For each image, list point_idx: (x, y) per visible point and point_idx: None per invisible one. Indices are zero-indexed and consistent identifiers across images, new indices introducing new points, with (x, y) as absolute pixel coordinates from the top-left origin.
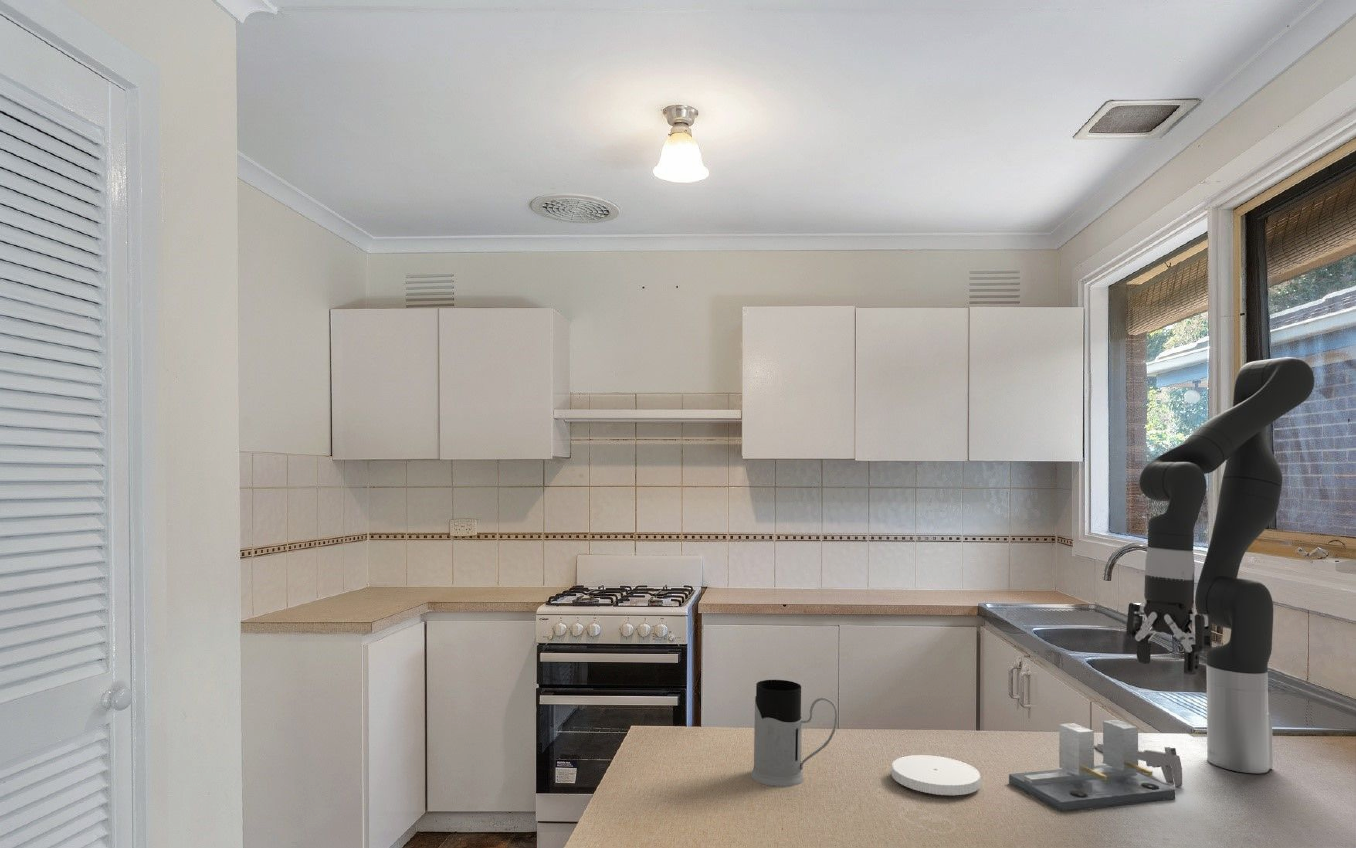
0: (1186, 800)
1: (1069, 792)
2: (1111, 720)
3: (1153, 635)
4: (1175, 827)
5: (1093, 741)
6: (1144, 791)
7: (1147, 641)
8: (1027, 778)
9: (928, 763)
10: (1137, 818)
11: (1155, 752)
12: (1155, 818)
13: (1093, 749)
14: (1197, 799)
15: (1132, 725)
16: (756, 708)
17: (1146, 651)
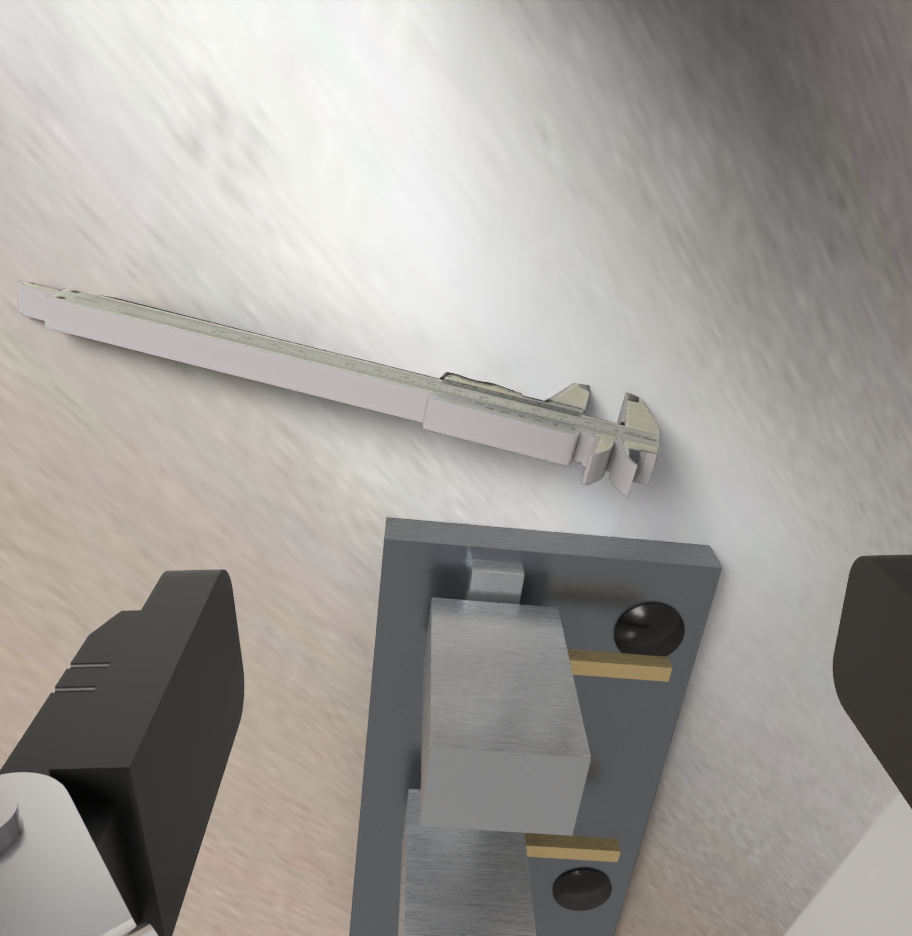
0: (739, 514)
1: (560, 905)
2: (429, 782)
3: (117, 895)
4: (852, 748)
5: (533, 921)
6: (673, 692)
7: (115, 847)
8: None
9: None
10: (744, 792)
11: (507, 449)
12: (775, 746)
13: (530, 889)
14: (757, 462)
15: (550, 757)
16: None
17: (191, 741)
